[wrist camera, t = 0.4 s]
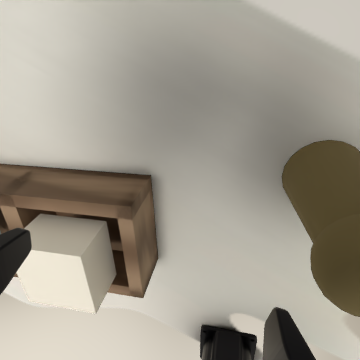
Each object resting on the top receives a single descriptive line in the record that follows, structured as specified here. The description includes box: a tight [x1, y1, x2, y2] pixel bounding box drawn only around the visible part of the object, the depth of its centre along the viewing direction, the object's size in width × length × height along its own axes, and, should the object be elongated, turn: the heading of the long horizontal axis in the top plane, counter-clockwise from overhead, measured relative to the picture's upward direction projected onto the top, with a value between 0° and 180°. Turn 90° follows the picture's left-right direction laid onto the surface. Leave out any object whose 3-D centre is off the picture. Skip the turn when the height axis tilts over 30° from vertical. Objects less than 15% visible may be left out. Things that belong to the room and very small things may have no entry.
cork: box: [282, 140, 360, 317], centre depth 16 cm, size 6×6×11 cm
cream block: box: [16, 214, 117, 313], centre depth 22 cm, size 6×6×4 cm
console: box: [0, 164, 158, 298], centre depth 27 cm, size 10×22×5 cm, turn 92°
